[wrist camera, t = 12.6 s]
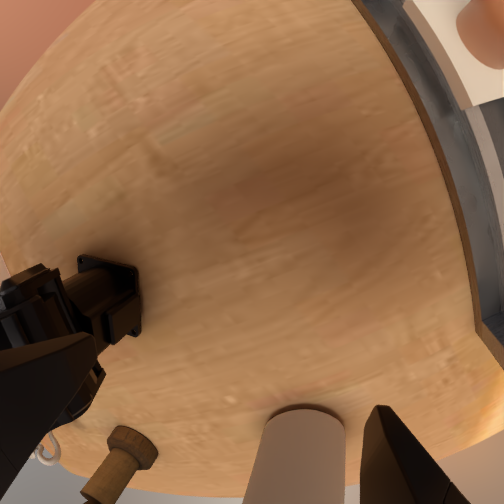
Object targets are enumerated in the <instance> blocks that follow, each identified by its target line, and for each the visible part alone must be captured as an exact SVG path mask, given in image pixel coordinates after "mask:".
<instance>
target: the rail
mask: <svg viewBox="0 0 504 504" xmlns="http://www.w3.org/2000/svg"><path fill="white" fill-rule="evenodd" d="M351 1H352V2H353V3H354V5H355V6H356V7H357V9H358V10H359V11H360V13H361V14H362V16H363V17H364V19H365V20H366V21H367V23H368V24H369V26H370V27H371V29H372V30H373V32H374V33H375V35H376V36H377V38H378V40H379V41H380V43H381V44H382V46H383V48H384V49H385V51H386V53H387V54H388V56H389V58H390V59H391V61H392V63H393V65H394V66H395V68H396V70H397V72H398V73H399V75H400V77H401V79H402V81H403V83H404V85H405V87H406V89H407V91H408V93H409V95H410V97H411V99H412V101H413V103H414V105H415V107H416V109H417V111H418V113H419V116H420V118H421V120H422V122H423V124H424V127H425V129H426V131H427V134H428V136H429V139H430V141H431V144H432V146H433V149H434V151H435V154H436V157H437V159H438V162H439V165H440V168H441V170H442V173H443V176H444V179H445V182H446V185H447V188H448V192H449V195H450V198H451V202H452V205H453V209H454V212H455V216H456V219H457V223H458V227H459V231H460V235H461V240H462V244H463V249H464V253H465V258H466V264H467V269H468V275H469V281H470V287H471V294H472V301H473V309H474V318H475V329H476V333H477V334H478V336H479V337H480V338H481V340H482V341H483V342H484V344H485V345H486V346H487V348H488V349H489V350H490V352H491V353H492V355H493V356H494V357H495V359H496V360H497V362H498V363H499V365H500V366H501V367H502V369H503V370H504V97H502V98H499V99H496V100H492V101H489V102H486V103H483V104H480V105H476V106H473V107H470V108H467V109H464V110H460V107H459V105H458V103H457V101H456V98H455V96H454V94H453V92H452V90H451V88H450V86H449V84H448V82H447V80H446V78H445V76H444V74H443V72H442V70H441V68H440V66H439V64H438V63H437V61H436V59H435V57H434V55H433V54H432V52H431V50H430V49H429V47H428V45H427V44H426V42H425V40H424V39H423V37H422V35H421V34H420V32H419V31H418V29H417V28H416V26H415V25H414V23H413V22H412V20H411V19H410V17H409V16H408V14H407V13H406V11H405V10H404V9H403V7H402V6H403V4H404V2H405V0H351Z"/></svg>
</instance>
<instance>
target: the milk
mask: <svg viewBox="0 0 504 504" xmlns="http://www.w3.org/2000/svg"><path fill="white" fill-rule="evenodd" d="M10 277H11V276H10V273H9V271H8V269H7V267H6V264H5V262H4V259H3V257H2V255H1V252H0V286H1V283H2V281H4V280H6V279H8V278H10Z"/></svg>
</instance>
